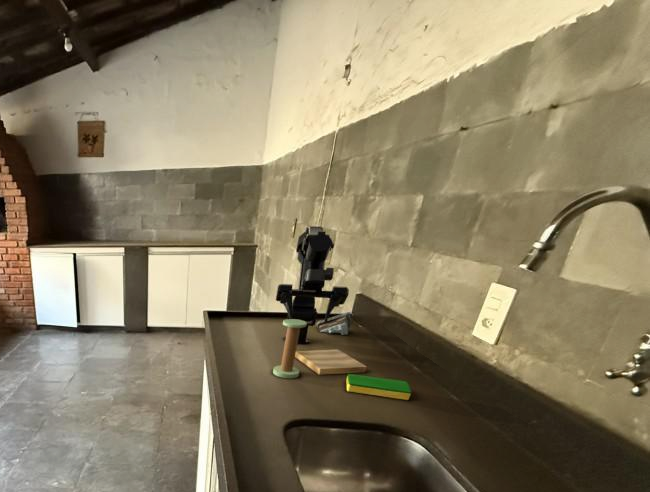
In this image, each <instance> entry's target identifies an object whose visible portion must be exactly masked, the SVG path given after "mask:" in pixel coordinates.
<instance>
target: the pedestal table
mask: <svg viewBox="0 0 650 492" xmlns="http://www.w3.org/2000/svg"><path fill="white" fill-rule="evenodd" d="M282 325H283V326H285V327H287V329H286V335H285V337H286V339H284V345H283V352H282V359H281V364H280V365H276V366H274V367H273V370H272V373H273V375H274V376H276V377H278V378H282V379H296V378H298V377H299V376H300V369H298V368H297V367H294V364H295V358H296V357H295V354H296V351H297V348H298V344H299V343H298V337H299V332H300V328H302V327H306V325H307V323H306V322H305V321H303V320H298V319H287V318H286V319H283V321H282Z"/></svg>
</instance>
